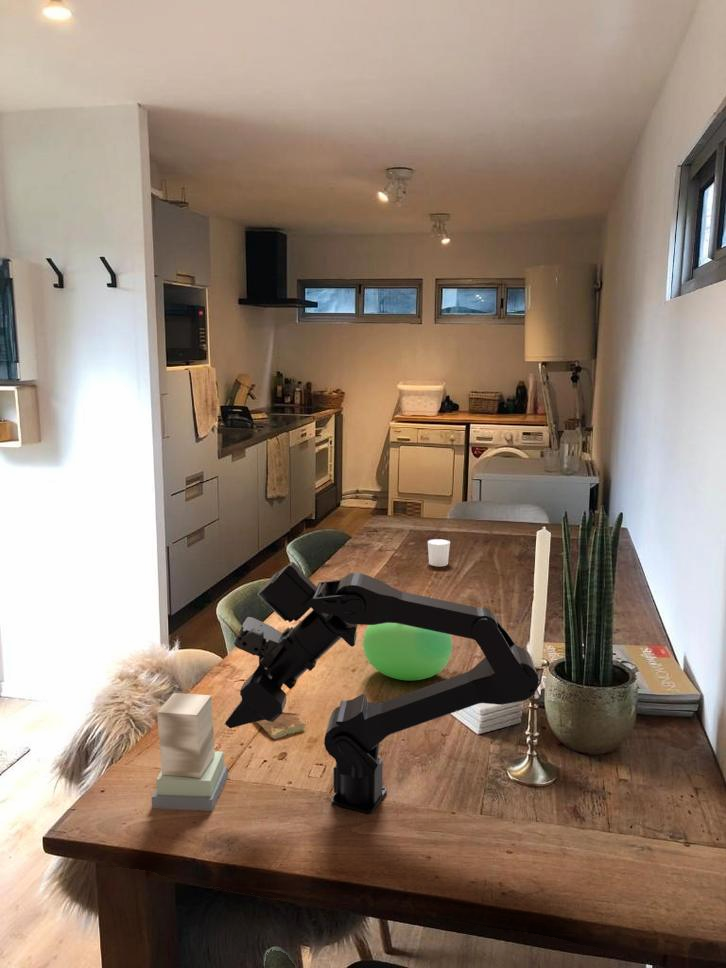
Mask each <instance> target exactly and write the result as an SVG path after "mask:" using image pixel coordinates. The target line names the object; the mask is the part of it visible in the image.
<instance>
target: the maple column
mask: <svg viewBox="0 0 726 968" xmlns="http://www.w3.org/2000/svg"><path fill="white" fill-rule="evenodd" d="M212 701H213V699H212V695H211V694H196V693H195V694H194V693H181V692H173V693H172V694H171V696H170V697H169V698H167V700H166V701H165V702H164V703H163V705H162V706H161V707H160V709H158V711H157V714H156V715H157V727H158V740H159V741H158V743H159V752H160V753H159V755H160V767H161V769H160V772H161V771H162V775H173V776H185V777H197V778H201V776H202V775H203V773H204V772H205V770H206V768H207V767H208V765H209V764H210V762H211V761H212V759H213V758H214V756H215V751H216V750H215V739H214V738H215V737H214V736H215V733H214V721H213V720H214V717H213V703H212Z"/></svg>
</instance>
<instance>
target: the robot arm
mask: <svg viewBox="0 0 726 968" xmlns="http://www.w3.org/2000/svg"><path fill="white" fill-rule="evenodd" d="M257 596H258V597H259V598H260V599H261V600H262V601H264V603H265V604H266V605H267V606H269V608H270V609H272V610H273V611H274V612H275V613H276V614H277V615H278V616H279V617H280V618H281V619H282V620H283V621H284V622H286V621H288V622H289V623H292V622H293V621H294V622H298V621H299V620H300V622H298V623H297V624H296V625H295V627H293V626H291V627H287V628H286V629H284V631H280V630H278V629H276V627H273V626H272V625H270V624H267V623H265V622H263V621H261V620H259V619H256V618H255V617H252V616H251V617H250V616H247V617H246V618H245V620H244V622H243V623H242V625H241V627H240V629H239V631H238V634H237V635H236V638H235V640H234V642H233V645H234V646H235V647H236V648H237V649H239V650H241V651H244V652H246V653H248V654H250V655H252V656H257V657H258V665H257V667H256V669H255V671H253V673H252V674H251V675H250V676H249V677H248V678H247V679H246V680H245V681H244V682H243V684H242V686H241V687H240V690H239V695H240V697H241V700H240V701H239V703H238V704H237V705H236V707H235V708H234V709H233V711H232V712H231V713H230V715H229V717H228V718H227V720H225V723H224V725H225V726H227V727H228V728H229V729H232V728H233V729H234V728H237V727H240V726H244V725H249V724H251V723H252V724H253V723H257V721H262V720H267V721H270V722H274V721H275V720H276V719H277V718H278V717H279V716H280V715H281V714H282V712H284V709H285V706H286V704H287V693H286V692H285V691H284V690H283V689H282V688H283V685H284V686H286V687H287V688H288V689H289V690H292V689H293V688H294V687H295V686H296V684H297V681H298V679H299V678H300V677H301V676H302V675H303V674H304V673H305V672H307V670H308V671H309V672H311V671H312V670H313V669H314V668H315V667H316V665H317V661H318V660H319V659H321V658H322V656H324V655H325V654H326V653H327V652H328V651H330V649H331V648H333V646H334V645H336V644H337V643H338V642H339V641H340V640H341V639H342V640H343V641H345V643H347V645H348V646H350V647H351V648H353V647H355V645H356V640H357V629H358V625H362V626H363V625H364V626H368V625H377V624H383V623H398V624H403V625H408V626H412V627H417V628H422V629H427V630H431V631H436V632H441V633H446V634H450V636H456V637H461V638H465V639H471V640H474V641H475V642H476V644H477V645H478V646H479V648H480V649H481V652H482V653H483V655H484V658H483V659H482V660H480V661H479V662H478V663H477V664H475V666H474V667H472V668H471V669H470V670H468V671H466V672H463V673H460V674H458V675H455V676H452V677H449V678H446V679H444V680H441V681H438V682H436V683H433V684H430V685H427V686H424V687H421V688H418V689H416V690H413V691H410V692H407V693H405V694H402V695H399V696H396V697H394V698H390V699H388V700H386V701H382V702H372V701H368V700H367V695H366V694H365V693H363V694H360V695H358V696H356V697H354V698H352V699H349V700H340V703H339V706H337V707H336V708H334V709H333V711H332V712H331V714H330V717H329V718H328V719H329V720H328V723H327V727H326V732H325V735H324V743H323V744H324V747H325V750H326V752H327V753H328V755H329V756H330V757H332V758H333V759H334V760H335V766H334V767H332V768H333V769H332V771H333V772H332V773H333V778H332V779H333V793H334V795H333V797H332V798H331V801H330V802H331V804H332V805H336V806H338V807H343V808H345V809H350V810H353V811H357V812H360V813H365V814H366V815H367V814H372V813H373V812H374V810H375V809H376V807H378V805H379V804H380V802H381V801H382V799H383V798H384V797H385V795H386V794H387V792H388V790H387V788H386V787H385V786H383V780H384V779H383V776H384V775H383V769H384V767H383V766H384V765H383V763H384V761H383V758H381V757H379V754H380V753H379V751H380V744H381V743H382V742H383V741H384V740H385V739H386V738H387V737H389V736H390V735H394V734H397V733H399V732H403V731H405V730H408V729H410V728H413V727H416V726H419V725H421V724H425V723H428V722H430V721H431V722H432V721H433V720H437V719H439V718H441V717H442V718H443V717H444V716H448V715H449V714H453V713H456V712H459V711H462V710H465V709H468V708H471V707H473V706H476V705H480V704H487V705H500V706H503V705H509V704H515V703H519V702H520V703H521V702H525V701H527V700H529V699H531V698H532V697H534V695H535V693H536V691H537V690H538V687H539V683H540V682H539V677H538V673H537V670H536V667H535V663H534V660H533V658H532V656H531V654H530V653H529V652H528V651H527V650H526V649H525V648H524V647H521V646H518V645H517V644H516V643H515V641H514V640H513V639H512V637H511V635H510V634H509V633H508V632H507V630H506V629H505V628H504V627H503V625H502V624H501V623H500V622H499V621H498V619H497V616H496V615H495V613H494V612H493V611H492V610H491V609H490V608H488V607H483V606H479V607H476V606H473V605H468V604H467V605H466V604H462V603H458V602H453V601H448V600H443V599H439V598H433V597H429V596H425V595H421V594H416V593H415V594H414V593H409V592H404V591H401V590H398V589H396V588H394V587H393V586H391V585H389V584H388V583H386V582H385V581H382V580H380V579H377V578H375V577H372V576H370V575H368V574H365V573H362V572H351V573H349V574H347V575H345V576H344V577H343V578H341V579H336V580H334V579H333V580H327V581H326V580H325V581H319V582H318V583H317V585H315V583H314V582H312V580H310V579H309V577H307V575H305V574H304V573H303V572H302V570H301V569H300V567H299V566H298V565H297V564H296V563H295V562H294V561H290V562H289V563H288V564H287V565H286V566H284V567H283V568H282V569H280V571H277V572H276V573H274V574H273V575H272V576H271V577H270V578H269V579H268V580H267V581H266V583H264V585H263V586H262V587H261V588H260V589H259V591H257ZM310 609H312V610H311V611H310V612H309V613H308V614H307V615H306V616H305V614H306V613H307V612H308V611H309V610H310ZM303 616H305V617H303ZM302 617H303V619H302V620H301V618H302Z"/></svg>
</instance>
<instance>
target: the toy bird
mask: <svg viewBox="0 0 726 968" xmlns="http://www.w3.org/2000/svg"><path fill="white" fill-rule="evenodd" d="M362 639H363V640H362V642H363V643H362V644H363V645H362V646H363V652H364V654H365V657H366V659H367V661H368V663H369V664H370V665H371V666H372V667H373V668H374V669H375V670H376V671H377V672H380V673H381V674H382V675H384V676H387V677H390V678H392V679H396V680H400V681H408V682H409V681H421V680H425V679H429V678H431V677H433V676H436V675H437V674H439V673H441V672H442V670H443V669H444V668H445V667H446V665H447V664H448V662H449V660H450V659H451V655H452V651H453V640H452V635H450V634H446V633H441V632H436V631H431V630H427V629H422V628H417V627H412V626H408V625H403V624H398V623H383V624H377V625H367V627H366V629H365V632H364V635H363V638H362Z"/></svg>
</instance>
